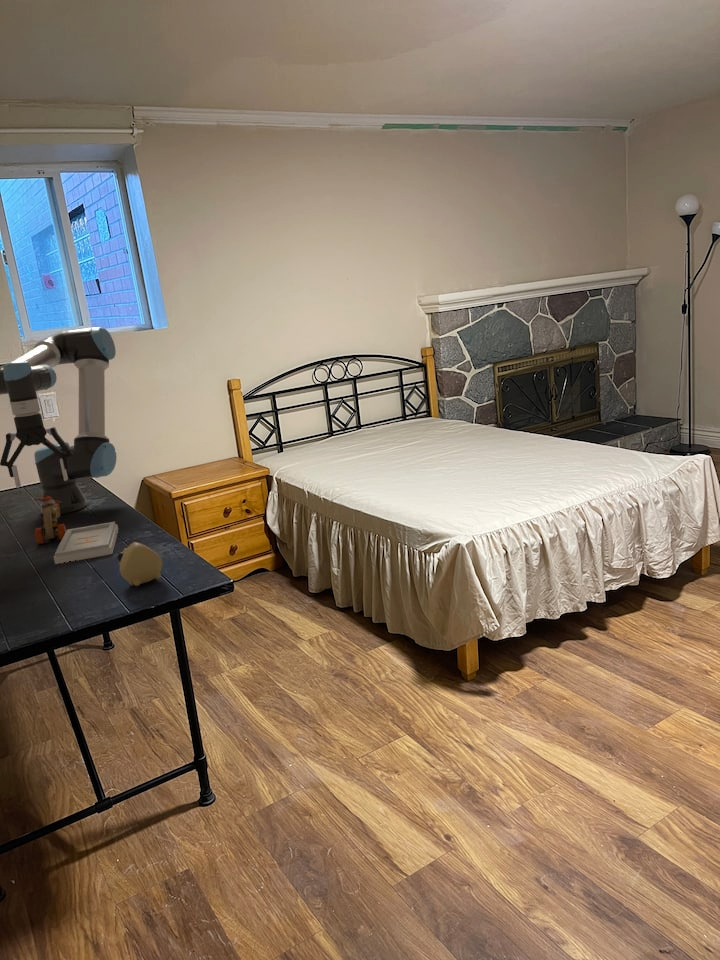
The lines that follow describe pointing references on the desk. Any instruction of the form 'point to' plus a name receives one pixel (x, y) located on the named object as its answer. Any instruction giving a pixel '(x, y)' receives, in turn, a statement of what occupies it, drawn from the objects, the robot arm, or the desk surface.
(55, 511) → the toy helicopter
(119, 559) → the toy pig
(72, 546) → the plate
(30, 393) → the robot arm
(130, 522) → the desk surface
